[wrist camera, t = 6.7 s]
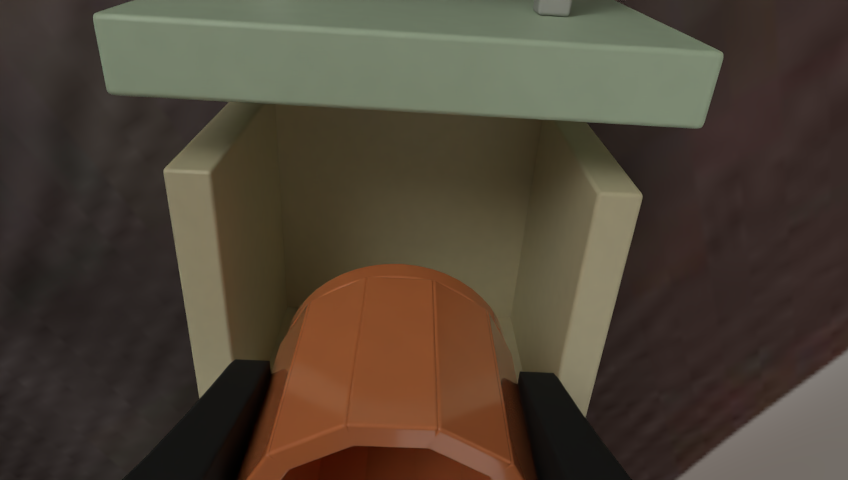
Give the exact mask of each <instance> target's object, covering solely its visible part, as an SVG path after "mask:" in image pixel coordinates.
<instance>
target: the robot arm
mask: <svg viewBox="0 0 848 480" xmlns="http://www.w3.org/2000/svg"><path fill="white" fill-rule="evenodd" d="M270 376H271V369H270V361H265V360H242V359H235V360H234V361H232V362H231V363H230V364H229V365H228V366H227V367H226V369H225V370H224V371H223V372H222V373H221V375H220V376H219V377H218V378H217V379H216V380H215V382H214V383H213V384H212V385H211V386H210V387H209V389H208V390H207V391H206V392H205V393H204V394H203V396H202V397H201V398H200V399H199V400H198V401H197V402H196V403H195V405H194V406H193V407H192V408H191V409H190V410H189V411H188V412H187V414H186V415H185V416H184V417H183V418H182V419H181V420H180V421H179V422H178V423H177V424H176V425H175V427H174V428H173V429H172V430H171V431H170V432H169V433H168V434H167V435H166V436H165V437H164V438H163V439H162V440H161V441H160V442H159V444H158V445H157V446H156V447H155V448H154V449H153V450H152V451H151V452H150V453H149V454H148V455H147V456H146V457H145V458H144V459H143V460H142V461H141V462H140V463H139V464H138V465H137V466H136V467H135V468H134V469H133V470H132V471H131V472H130V473H129V474H127V475H126V476H125V477H124V478H123V479H122V480H237V478H238V475H239V471H240V468H241V465H242V462H243V459H244V456H245V453H246V450H247V446H248V443H249V440H250V437H251V434H252V431H253V428H254V425H255V422H256V419H257V416H258V413H259V410H260V407H261V404H262V401H263V397H264V394H265V391H266V388H267V385H268V382H269V379H270ZM517 385H518V389H519V394H520V399H521V404H522V409H523V414H524V419H525V424H526V428H527V432H528V436H529V441H530V446H531V451H532V456H533V461H534V466H535V470H536V475H537V480H632V479H631V478H630V477H629V475H628V474H627V473H626V471H625V470H624V469H623V468H622V466H621V465H620V464H619V462H618V461H617V460H616V458H615V457H614V456H613V455H612V453H611V452H610V451H609V449H608V448H607V447H606V446H605V444H604V443H603V441H602V440H601V439H600V437H599V436H598V435H597V433H596V432H595V431H594V429H593V428H592V426H591V425H590V424H589V422H588V421H587V419H586V418H585V417H584V415H583V414H582V412H581V411H580V409H579V408H578V407H577V405H576V404H575V402H574V401H573V399H572V398H571V396H570V395H569V393H568V392H567V390H566V389H565V387H564V386H563V384H562V383H561V381H560V380H559V378H558V377H557V376H556V375H555V374H554V373H545V372H522V371H520V373H519V379H518V384H517Z"/></svg>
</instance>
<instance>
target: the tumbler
mask: <svg viewBox="0 0 848 480" xmlns="http://www.w3.org/2000/svg"><path fill="white" fill-rule="evenodd" d="M517 384H518V383H517V378H516V373H515V368H514V363H513V359H512V354H511V352H510V350H509V348H508V346H507V345H506V341H505V337H504V333H503V329H502V327H501V325H500V322H499V320H498V318H497V316H496V315H495V313H494V312H493V310H492V309H491V307H490V306H489V305H488V304H487V303H486V301H485V300H484V299H483V298H482V297H481V296H480V295H479V294H477V293H476V292H475V291H474V290H473V289H472V288H470V287H469V286H467V285H466V284H464V283H463V282H461V281H460V280H458V279H456V278H454V277H452V276H450V275H448V274H445V273H443V272H440V271H437V270H434V269H431V268H426V267H422V266H417V265H409V264H380V265H371V266H367V267H362V268H358V269H354V270H352V271H349V272H346V273H344V274H341V275H339V276H337V277H335V278H333V279H331V280H329V281H328V282H326V283H325V284H323V285H322V286H321V287H319V288H318V289H316V290H315V291H314V292H313V293H312V294H311V295H310V296H309V297H308V298H307V299H306V300H305V301H304V302H303V304H302V305H301V306H300V307H299V309H298V310H297V312H296V314H295V316H294V317H293V319H292V322H291V324H290V327H289V330H288V333H287V335H286V336H285V338H284V339H283V341H282V342H281V343H280V346H279V350H278V353H277V356H276V359H275V362H274V365H273V368H272V371H271V376H270V379H269V382H268V385H267V388H266V391H265V394H264V397H263V401H262V404H261V407H260V410H259V413H258V416H257V419H256V422H255V425H254V428H253V431H252V434H251V437H250V440H249V443H248V446H247V450H246V453H245V456H244V459H243V462H242V465H241V468H240V471H239V475H238V478H237V480H537V475H536V470H535V466H534V461H533V456H532V451H531V446H530V441H529V436H528V432H527V428H526V424H525V419H524V414H523V409H522V404H521V399H520V394H519V389H518V385H517Z"/></svg>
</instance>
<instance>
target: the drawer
mask: <svg viewBox="0 0 848 480" xmlns="http://www.w3.org/2000/svg"><path fill="white" fill-rule="evenodd" d="M93 22H94V27H95V33H96V38H97V43H98V48H99V53H100V58H101V63H102V69H103V74H104V79H105V84H106V89H107V91H108V93H109V94H112V95H121V96H138V97H156V98H173V99H191V100H208V101H226V102H229V103H228V104H227V105H226V106H225V107H224V108H223V109H222V110H221V111H220V112H219V113H218V114H217V115H216V116H215V117H214V118H213V119H212V120H211V121H210V122H209V123H208V124H207V125H206V126H205V127H204V128H203V129H202V130H201V131H200V132H199V133H198V134H197V136H196V137H195V138H194V139H193V140H192V141H191V142H190V143H189V144H188V145H187V146H186V147H185V148H184V149H183V150H182V151H181V152H180V153H179V154H178V155H177V156H176V157H175V158H174V159H173V160H172V161H171V162H170V163H169V164H168V165H167V166H166V167H165V168H164V171H163V173H164V179H165V185H166V191H167V198H168V204H169V210H170V217H171V223H172V229H173V235H174V242H175V248H176V254H177V261H178V267H179V273H180V279H181V286H182V292H183V298H184V305H185V311H186V317H187V323H188V330H189V336H190V342H191V348H192V355H193V361H194V367H195V374H196V380H197V386H198V392H199V399H200V398H201V397H202V396H203V394H204V393H205V392H206V391H207V390H208V389H209V387H210V386H211V385H212V384H213V383H214V382H215V380H216V379H217V378H218V377H219V376H220V375H221V373H222V372H223V371H224V370H225V369H226V367H227V366H228V365H229V364H230V363H231V362H232V361H234V360H235V359H242V360H265V361H270V369H271V371H272V368H273V365H274V362H275V359H276V356H277V353H278V350H279V346H280V343H281V342H282V341H283V339H284V338H285V336H286V335H287V333H288V330H289V327H290V324H291V322H292V319H293V317H294V316H295V314H296V312H297V310H298V309H299V307H300V306H301V305H302V304H303V302H304V301H305V300H306V299H307V298H308V297H309V296H310V295H311V294H312V293H313V292H314V291H315V290H316V289H318V288H319V287H321V286H322V285H323V284H325V283H326V282H328V281H329V280H331V279H333V278H335V277H337V276H339V275H341V274H344V273H346V272H349V271H352V270H354V269H358V268H362V267H367V266H371V265H380V264H409V265H417V266H422V267H426V268H431V269H434V270H437V271H440V272H443V273H445V274H448V275H450V276H452V277H454V278H456V279H458V280H460V281H461V282H463V283H464V284H466V285H467V286H469V287H470V288H472V289H473V290H474V291H475V292H476V293H477V294H479V295H480V296H481V297H482V298H483V299H484V300H485V301H486V303H487V304H488V305H489V306H490V307H491V309H492V310H493V312H494V313H495V315H496V316H497V318H498V320H499V322H500V325H501V327H502V329H503V333H504V337H505V341H506V345H507V346H508V348H509V350H510V352H511V354H512V359H513V363H514V368H515V373H516V378H517V383H518V379H519V373H520V371H522V372H545V373H554V374H555V375H556V376H557V377H558V378H559V380H560V381H561V383H562V384H563V386H564V387H565V389H566V390H567V392H568V393H569V395H570V396H571V398H572V399H573V401H574V402H575V404H576V405H577V407H578V408H579V409H580V411H581V412H582V414H583V415H584V417H585V418H586V414H587V410H588V406H589V402H590V398H591V394H592V391H593V387H594V383H595V379H596V375H597V371H598V367H599V364H600V360H601V356H602V352H603V348H604V344H605V341H606V337H607V333H608V329H609V325H610V321H611V317H612V314H613V310H614V306H615V302H616V298H617V294H618V290H619V287H620V283H621V279H622V275H623V271H624V267H625V263H626V260H627V256H628V252H629V248H630V244H631V240H632V237H633V233H634V229H635V225H636V221H637V217H638V213H639V210H640V206H641V202H642V198H643V196H642V193H641V192H640V191H639V189H638V188H637V187H636V186H635V184H634V183H633V182H632V180H631V179H630V178H629V177H628V175H627V174H626V173H625V171H624V170H623V169H622V168H621V166H620V165H619V164H618V162H617V161H616V160H615V159H614V157H613V156H612V155H611V153H610V152H609V151H608V150H607V148H606V147H605V146H604V144H603V143H602V142H601V141H600V139H599V138H598V137H597V135H596V134H595V133H594V132H593V130H592V129H591V128H590V126H589V125H588V124H587V123H586V122H592V123H609V124H627V125H644V126H661V127H679V128H701V127H702V126H703V125H704V122H705V119H706V115H707V112H708V108H709V105H710V102H711V98H712V95H713V92H714V88H715V85H716V81H717V78H718V75H719V71H720V68H721V64H722V61H723V53H722V52H721V51H719V50H717V49H715V48H713V47H711V46H709V45H706V44H704V43H702V42H700V41H698V40H696V39H694V38H692V37H690V36H688V35H686V34H683V33H681V32H679V31H677V30H675V29H673V28H671V27H669V26H667V25H665V24H663V23H660V22H658V21H656V20H654V19H652V18H650V17H648V16H646V15H644V14H642V13H640V12H637V11H635V10H633V9H631V8H629V7H627V6H625V5H623V4H621V3H619V2H617V1H614V0H133V1H130V2H127V3H124V4H121V5H118V6H115V7H112V8H109V9H106V10H103V11H100V12H97V13H95V14H94V15H93Z"/></svg>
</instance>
